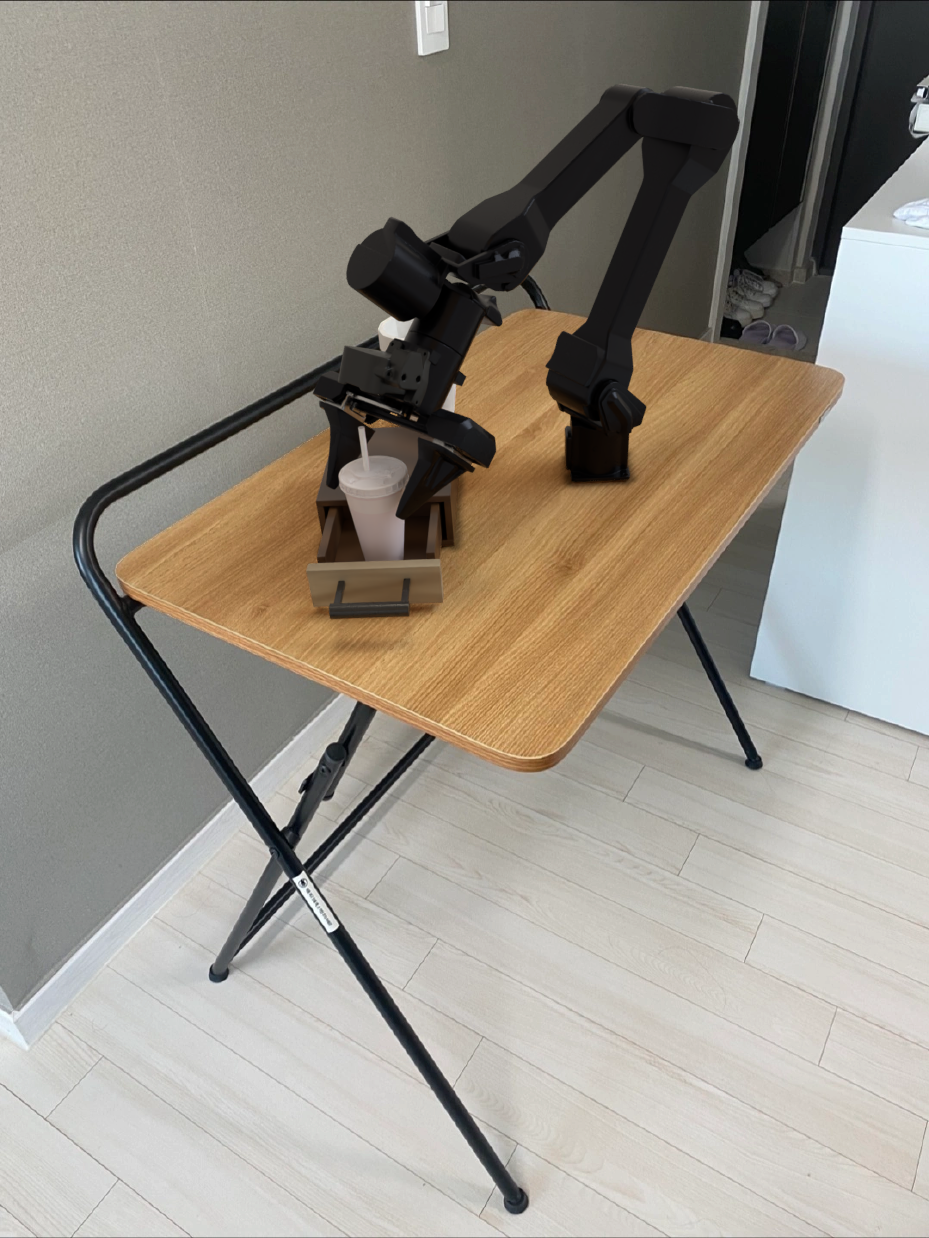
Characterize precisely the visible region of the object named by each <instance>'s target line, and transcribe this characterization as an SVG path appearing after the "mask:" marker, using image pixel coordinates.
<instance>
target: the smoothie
mask: <svg viewBox="0 0 929 1238" xmlns="http://www.w3.org/2000/svg"><path fill="white" fill-rule="evenodd" d="M358 430H359V437H360V444H361V451H362V458H359V459H356V460H354V461H352V462H350V463H348V464H346V465H345V466H344V467H343V468H342V469H341V470H340V472H339V486H340V488H341V490H342V491H343V492H344V493H345V495H346V498H347V502H348V505H349V508H350V512H351V515H352V518H353V521H354V525H355V528H356V531H357V535H358V538H359V541H360V545H361V548H362V551H363V555H364V558H365V561H392V560H403V558H404V520H401V519H399V518H397V517H396V516H395V514H396V511H397V508H398V505H399V502H400V499H401V497H402V494H403V492H404V490H405V486H406V484H407V482H408V481H409V475H408V473H407V467H406V465H405V464H404V463H403V462H402V461H400V460H399V459H396V458H393V457H389V456H368V450H367V443H366V435H365V428H364V426H360V427H358Z"/></svg>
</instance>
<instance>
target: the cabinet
mask: <svg viewBox="0 0 929 1238" xmlns="http://www.w3.org/2000/svg"><path fill="white" fill-rule="evenodd" d="M371 428H372V429H373V430H375V433H374V435H373V436H372V438H371V439H370V441H369V442H368V444H367V450H368V456H389V457H393V458H396V459H399V460H400V461H402V462H403V463H404V464H405V465H406V467H407V473H408V475H409V479H410V476H411V474H412V472H413V470H414V467H415V465H416V463H417V460H418V437H420V438H423V439H425V440H428V441H431V442H433V440H434V439H433V438H431V437H428V436H425V435H422V434H420V433H417V432H414V431H412V430H409V429H406V428H403V427H401V426H388V427H387V426H385V427H371ZM328 457H329V455H328V456H327V458H328ZM359 458H362V453H361V454H360V456H359V457H358V459H359ZM327 467H328V459H327V460H326V464H325V466H324V470H323V474H322V477H321V481H320V484H319V488H318V492H317V494H316V499H315V506H316V511H317V517H318V522H319V528H320V533H321V536H322V535H323V531H324V527H325V523H326V519H327V516H328V512H329V508H330V506H348V502H347V498H346V495H345V493H344V492H343V491H342V490H341V488H340V486H338V487H337V488H336V489H335V490H333V489H331V488H329V487H327V486H326V478H327ZM459 478H460V476H459V477H458V478H456V479H455V480H454V481H452V482H451V483H449V484H448V485H446V486H445V487H444V488H442V489H441V490H440V491H438V492H437V493H436V494H435V495H433V496H432V497H431V498H430V499H429V500H428V501H426V502H442V508H443V529H442V541H441V547H445V546H446V547H447V546H448V547H450V546H455V541H456V526H457V511H458V510H457V509H458V494H459V492H458V491H459ZM407 483H408V482H407ZM406 485H407V484H406ZM405 488H406V486H405Z"/></svg>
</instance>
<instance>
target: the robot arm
mask: <svg viewBox="0 0 929 1238" xmlns="http://www.w3.org/2000/svg"><path fill="white" fill-rule="evenodd" d="M740 125H741V120H740V118H739V115H738V107H737V105H736V102H735V100H734V98H733V97H731V95H730V94H727V93H725V92H721V91H720V92H719V91H713V90H707V89H701V88H694V87H687V86H681V85H676V86H675V85H674V86H670V87H669V88H667V89H666V90H665V91H661V92H655V91H654V89H652V88H649V87H644V86H638V85H633V84H626V83H617V84H616V83H615V84H613V85H611V86H609V87H608V88H607V89H605V90H604V92H603V93H602V94H601V96H600V97H599V102H598V103H597V104H596V105H595V106H594V107H593V108H592V109H591V110H590V111H589V112H588V113H587V114H585V116H584V117H583V118H582V119H581V120H580V121H579V122H578V123H577V124H576V125H575V126H574V127H573V128H572V129H571V130H570V131H569V132H568V133H567V134H566V135H565V136H564V137H563V138H562V139H561V140H560V141H559V142H558V143H557V144H556V145H555V146H554V147H553V148H552V149H551V150H550V151H549V152H548V153H547V154H546V155H544V157H543V158H542V159H541V160H540V161H539V162H538V163H536V165H535V166H534V167H533V168H532V169H531V170H530V171H529V172H528V173H527V174H526V175H525V176H524V177H523V178H522V179H521V180H520V181H519V182H518V183H517V184H515V185H513V186H512V187H511V188H510V189H508V190H505V191H503V192H500V193H497V194H495V195H492V196H490V197H488V198H485V199H484V200H482V201H481V202H479V203H478V204H476V205H475V206H474V207H472V208H471V209H469V210H468V211H466V212H465V213H463V214H462V215H461V216H459V218H457V219H456V220H455V222H454V223H453V224H452V225H451V227H450V228H449V229H448V230H446V231H444V232H442V233H440V234H438V235H436V236H432V237H431V238H429V239H427V240H422V239H421V238H420V237H419V236H418V235H417V234H416V232H415V231H414V229H413V228H412V227H411V226H409V225H408V224H407V223H406V222H405V221H404V220H400V219H398V218H396V217H394V216H390V217H388V218H387V220H386V222H385V223H384V225H383V227H381V228H379V229H376V230H374V231H373V232H371V233H370V234H368V236H366V237H364V239H363V240H362V242H361V243H358V244H356V246H355V247H354V249H353V251H352V252H351V255H350V257H349V259H348V262H347V264H346V265H347V266H346V271H345V277H346V282H347V284H348V286H349V287H350V288H351V289H352V290H354V291H355V292H356V293H358V294H359V295H361V296H362V297H364V298H365V299H366V300H368V301H369V302H370V303H372V304H373V305H375V306H376V307H377V308H379V309H381V311H383V312H385V313H386V314H387V315H388V316H389V317H391V316H392V317H393V318H394V319H396V320H397V321H401V322H406V321H410V320H412V319H414V320H413V322H412V324H411V326H410V328H409V330H408V333H407V335H406V337H405V339H404V340H400V339H397V338H394V340H392V341H391V342H390V343H389V345H388V348H387V350H386V351H385V352H384V351H382V350H380V349H379V350H378V349H373V348H367V347H359V346H353V345H347V344H346V345H344V346H343V352H342V356H341V361H340V367H339V372H336V371H333V370H328V371H327V372H325V373H323V374H320V376H319V378H318V381H317V382H316V385H315V387H314V389H313V391H312V395H313V396H315V397H317V398H318V399H320V400H318V406H319V408H320V409H321V410H323V411H324V412H325V416H326V419H327V421H328V425H329V449H328V456H329V457H328V456H327V460H328V467H327V478H326V486H327V487H329V488H331V489H333V490H335V489H336V488H337V487H338V486H339V472H340V470H341V469H342V468H343V467H344V466H345V465H346V464H348V463H350V462H352V461H354V460H356V459H358V457H359V456H360V454H361V453H362V451H361V444H360V437H359V430H358V427H360V426H364V428H365V435H366V443H367V444H368V442H369V441H370V439H371V438H372V436H373V435H374V433H375V430H373V429H372V428H373V427H370V425H372V424H374V423H376V422H377V421H379V420H382V421H385V422H387V423H390V424H392V425H395V426H397V427H403V428H406V429H409V430H412V431H414V432H417V433H420V434H422V435H425V436H428V437H431V438H433V439H434V440H433V442H431V441H428V440H425V439H423V438H420V437H418V460H417V463H416V465H415V467H414V470H413V472H412V474H411V476H410V479H409V481H408V483H407V485H406V488H405V490H404V492H403V494H402V497H401V499H400V502H399V505H398V508H397V511H396V514H395V516H396V517H397V518H399V519H401V520H405V519H406V518H407V517H409V516H410V515H411V514H412V513H413V512H415V511H416V510H417V509H418V508H419V507H420V506H422V505H423V504H424V503H425V502H426V501H428V500H429V499H430V498H431V497H432V496H433V495H435V494H436V493H437V492H438V491H440V490H441V489H442V488H444V487H445V486H446V485H448V484H449V483H451V482H452V481H454V480H455V479H456V478H458V477H459V478H460V476H463V474H465V473H467V472H468V473H470V474H473V473H474V472H475V471H476V467H475V466H474V465H477V466H479V467H481V468H484V469H489V468H490V466H491V464H492V462H493V461H494V458H495V455H496V453H497V442H496V436H494V434H492V433H491V432H490V431H488V430H486V429H485V428H484V427H483V426H481V425H480V424H479V423H477V422H476V421H474V419H472V418H471V417H469V416H465V415H464V414H463V415H462V414H460V413H457V412H455V411H454V412H451V411H448V410H445V409H442V407H443V405H444V403H445V401H446V398H447V396H448V394H449V392H450V390H451V388H452V386H453V384H456V386H460V387H463V385H464V383H465V381H466V379H467V376H466V375H465V374H464V373H463V372H462V371H460V370H461V368H462V367H463V364H464V361H465V360H466V358H467V355H468V353H469V351H470V349H471V346H472V345H473V342H474V340H475V338H476V335H477V333H478V331H479V329H480V327H481V325H486V326H492V327H496V328H497V327H498V328H499V327H501V326H502V325H503V323H504V322H503V318H502V313H501V311H500V309H499V307H498V303H497V302H498V301H497V300H498V299H497V297H496V295H493V294H485V293H478V292H477V291H475V290H474V289H473V288H472V287H471V286H483V287H485V288H487V289H490V290H492V291H495V292H501V293H502V292H506V293H509V292H511V291H514V290H515V289H516V288H518V287H519V286H520V285H522V284H523V283H524V281H525V280H526V279H527V277H528V276H529V275H530V273H531V272H532V270H533V269H534V268H535V266H536V265H537V264H538V263H539V261H540V260H541V258H542V257H543V256H544V254H545V252H546V248H547V245H548V242H549V238H550V234H551V232H552V231H553V230H554V228H555V226H556V225H557V224H558V222H560V221H561V220H562V219H563V218H564V216H566V214H567V213H568V212H569V211H570V210H572V208H573V207H574V206H575V205H576V204H577V203H578V202H579V201H580V200H581V199H582V198H583V197H584V196H585V195H586V194H587V193H588V192H589V191H590V190H592V188H593V187H594V186H595V185H596V184H597V183H598V182H599V181H600V180H601V179H602V178H603V177H604V176H605V175H606V174H607V173H608V172H609V171H610V170H611V169H612V168H613V167H614V166H615V165H616V164H617V163H618V162H619V161H620V160H621V159H622V158H623V157H624V156H625V155H626V154H627V153H628V152H629V151H630V150H631V149H632V148H633V147H634V146H635V145H636V144H637V143H638V142H639V141H640V140H641V139H642V140H641V145H640V152H641V163H642V176H643V177H642V181H641V184H640V186H639V189H638V192H637V194H636V197H635V199H634V201H633V205H632V206H631V209H630V212H629V214H628V217H627V220H626V221H625V225H624V226H623V229H622V232H621V234H620V237H619V240H618V241H617V245H616V247H615V249H614V252H613V254H612V257H611V259H610V261H609V264H608V267H607V269H606V272H605V274H604V277H603V279H602V282H601V284H600V287H599V289H598V292H597V295H596V297H595V299H594V302H593V305H592V307H591V309H590V312H589V314H588V317H587V319H586V321H585V322H584V323H582V324H581V325H580V326H579V327H578V328H577V329H576V330H575V331H573V332H572V333H570V332H568V331H566V330H562V331H561V332H560V334H559V335H558V336H557V338H556V342H555V347H554V349H553V352H552V354H551V357H550V358H549V360H548V361H547V363H546V364H545V366H544V367H545V368H546V369H548V370H547V374H546V378H545V386H546V387H547V390H548V394H549V396H550V397H551V398H552V400H554V401H555V402H556V404H557V407H558V410H559V411H560V412H561V413H565V414H567V415H569V425H566V426H565V427H564V465H565V470H567V471H569V475H570V481H571V482H573V483H586V482H588V483H589V482H591V483H592V482H609V481H610V482H611V481H612V482H613V481H617V482H618V481H628V480H630V479H631V472H630V467H629V452H630V449H629V447H630V434H632V432H633V430H634V428H637V427H639V426H641V425H642V423H643V421H644V420H643V419H644V417H645V414H646V410H647V405H646V403H644V402H642V401H641V399H639V398H638V397H637V396H636V395H635V394H633V393H632V392H631V391H630V390H629V388H630V383H631V380H632V377H633V373H634V357H633V346H632V345H633V344H632V339H633V335H634V334H635V331H636V328H637V326H638V323H639V321H640V319H641V316H642V314H643V311H644V309H645V306H646V304H647V302H648V299H649V297H650V296H651V295H650V294H651V293H652V290H653V288H654V286H655V283H656V281H657V278H658V276H659V274H660V271H661V269H662V266H663V264H664V261H665V259H666V257H667V254H668V252H669V249H670V247H671V245H672V242H673V240H674V237H675V236H676V233H677V231H678V229H679V225H680V223H681V221H682V218H683V216H684V213H685V212H686V209H687V206H688V205H689V201H690V200H691V198H692V196H693V195H694V194H695V193H697V192H698V191H699V190H700V189H701V188H702V187H703V186H704V185H705V184H707V183H708V182H709V181H710V180H711V179H712V178H713V177H714V176H716V174H717V173H719V170H720V169H721V167H722V165H723V163H724V161H725V160H726V158H727V156H728V154H729V153H730V152H731V149H732V148H733V145H734V143H735V142H736V139H737V136H738V133H739V130H740ZM448 275H449V276H451V277H453V278H455V279H457V280H460V281H455V282H451V281H450V280H449V279H447V277H448ZM468 284H469V285H471V286H469V285H468ZM411 416H414V417H417V418H418V419H417V422H416V421H413V420H412V419H411V420H410V417H411ZM368 425H369V426H368ZM473 464H474V465H473Z"/></svg>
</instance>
